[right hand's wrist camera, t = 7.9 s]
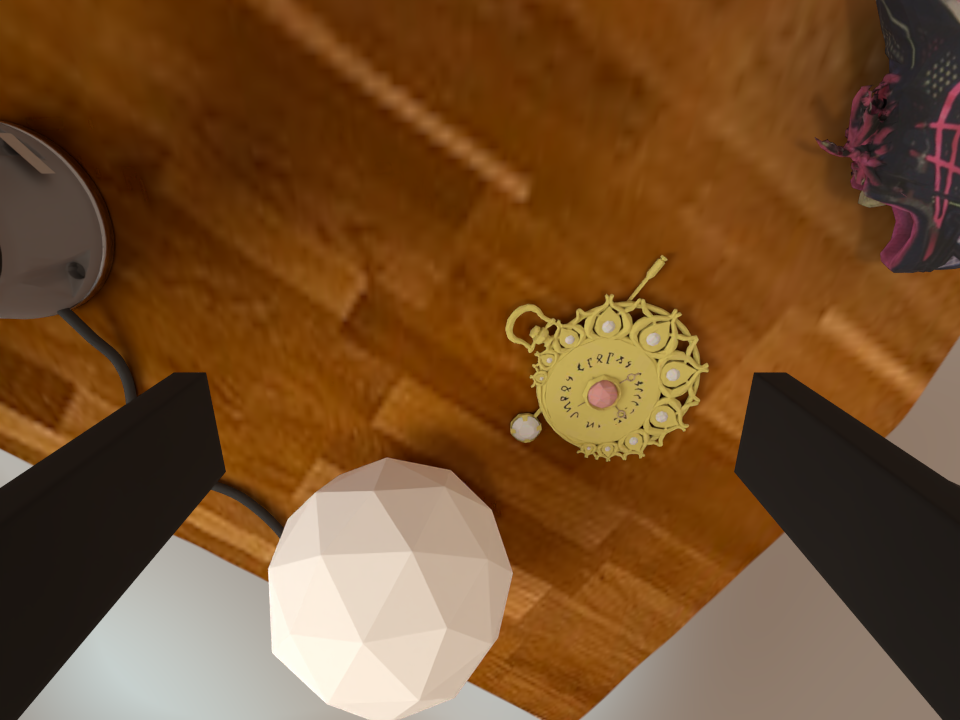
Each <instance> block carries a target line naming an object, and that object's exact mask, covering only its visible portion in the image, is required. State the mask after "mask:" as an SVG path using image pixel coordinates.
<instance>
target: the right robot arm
mask: <svg viewBox="0 0 960 720" xmlns="http://www.w3.org/2000/svg"><path fill="white" fill-rule="evenodd" d="M114 248H115V245H114V232H113V227H112V222H111V218H110V215H109V212H108V209H107V207H106V204H105V202H104V200H103V198H102V196H101V194H100V192H99V190H98V189H97V187H96V185H95V184H94V182H93V181H92V179H91V178H90V177H89V175H88V174H87V173H86V171H85V170H84V169H83V168H82V167H81V166H80V164H79V163H78V162H77V161H76V160H75V159H74V158H73V157H72V156H71V155H69V154H68V153H67V152H66V151H65V150H64V149H62V148H61V147H60V146H58V145H57V144H56V143H54V142H53V141H51V140H50V139H48V138H46V137H45V136H43V135H41V134H39V133H37V132H35V131H33V130H31V129H29V128H26V127H24V126H21V125H18V124H14V123H10V122H6V121H0V318H12V319H33V318H41V317H48V316H53V315H56V314H59V315H60V316H61V317H62V318H63V319H64V320H65V321H66V322H67V323H68V324H70V325H71V326H72V327H73V328H74V329H75V330H76V331H77V332H78V333H79V334H80V335H81V336H82V337H83V338H84V339H85V340H86V341H88V342H89V343H90V344H91V345H92V346H94V347H95V348H96V349H97V350H99V351H100V352H101V353H102V354H104V355H105V356H106V357H107V358H108V359H109V360H110V361H111V362H112V364H113V365H114V367H115V368H116V370H117V372H118V374H119V376H120V378H121V381H122V384H123V387H124V392H125V398H126V405H124V406H123V407H121V408H120V409H118V410H117V411H115V412H114V413H112V414H111V415H109V416H108V417H106V418H105V419H103V420H102V421H100V422H99V423H97V424H96V425H94V426H93V427H91V428H90V429H88V430H87V431H85V432H84V433H82V434H81V435H79V436H78V437H76V438H75V439H73V440H72V441H70V442H69V443H67V444H66V445H64V446H63V447H61V448H60V449H58V450H57V451H55V452H54V453H52V454H51V455H49V456H48V457H46V458H45V459H43V460H42V461H40V462H39V463H37V464H36V465H34V466H33V467H31V468H30V469H28V470H27V471H25V472H24V473H22V474H21V475H19V476H18V477H16V478H15V479H13V480H12V481H10V482H9V483H7V484H5V485H4V486H3V487H1V488H0V720H18V718H19V717H20V716H21V715H22V714H23V712H24V711H25V710H26V709H27V708H28V707H29V705H30V704H31V703H32V702H33V701H34V699H35V698H36V697H37V696H38V695H39V693H40V692H41V691H42V690H43V689H44V687H45V686H46V685H47V684H48V683H49V681H50V680H51V679H52V678H53V677H54V676H55V674H56V673H57V672H58V671H59V670H60V668H61V667H62V666H63V665H64V664H65V663H66V661H67V660H68V659H69V658H70V657H71V655H72V654H73V653H74V652H75V651H76V649H77V648H78V647H79V646H80V645H81V643H82V642H83V641H84V640H85V639H86V638H87V636H88V635H89V634H90V633H91V632H92V630H93V629H94V628H95V627H96V626H97V624H98V623H99V622H100V621H101V620H102V618H103V617H104V616H105V615H106V614H107V613H108V611H109V610H110V609H111V608H112V607H113V605H114V604H115V603H116V602H117V601H118V599H119V598H120V597H121V596H122V595H123V593H124V592H125V591H126V590H127V589H128V588H129V586H130V585H131V584H132V583H133V581H134V580H135V579H136V578H137V577H138V576H139V574H140V573H141V572H142V571H143V570H144V568H145V567H146V566H147V565H148V564H149V563H150V561H151V560H152V559H153V558H154V557H155V555H156V554H157V553H158V552H159V551H160V549H161V548H162V547H163V546H164V545H165V544H166V542H167V541H168V540H169V539H170V538H171V536H172V535H173V534H174V533H175V532H176V530H177V529H178V528H179V527H180V526H181V524H182V523H183V522H184V521H185V520H186V519H187V517H188V516H189V515H190V514H191V513H192V511H193V510H194V509H195V508H196V507H197V505H198V504H199V503H200V502H201V501H202V499H203V498H204V497H205V496H206V495H207V494H208V492H209V491H210V490H214V491H217V492H220V493H222V494H225V495H227V496H229V497H232V498H233V499H235V500H237V501H239V502H240V503H242V504H243V505H245V506H246V507H248V508H249V509H250V510H252V511H253V512H254V513H255V514H256V515H258V516H259V517H260V518H261V519H262V520H263V521H264V522H265V523H266V524H267V525H268V526H269V527H270V528H271V529H272V530H273V531H274V532H275V533H276V534H277V535H278V537H279V538H281V535H282V533H283V530H284V528H283V527H282V525H281V524H280V523H279V522H278V521H277V520H276V519H275V518H274V517H273V516H272V515H271V514H270V513H269V512H268V511H267V510H266V509H264V508H263V507H262V506H261V505H260V504H258V503H257V502H256V501H255V500H253V499H252V498H251V497H249V496H248V495H246V494H245V493H243V492H241V491H239V490H237V489H235V488H233V487H231V486H228V485H226V484H223V483H220V482H218V480H219V479H220V478H221V477H222V476H223V474H224V473H225V472H226V470H225V465H224V460H223V455H222V450H221V445H220V440H219V435H218V430H217V425H216V420H215V415H214V410H213V405H212V400H211V395H210V390H209V385H208V380H207V375H206V373H173V374H171V375H170V376H168V377H167V378H165V379H164V380H162V381H161V382H159V383H158V384H156V385H154V386H153V387H151V388H150V389H148V390H147V391H145V392H144V393H142V394H141V395H139V396H138V397H137V394H136V388H135V384H134V381H133V377H132V375H131V372H130V370H129V368H128V366H127V364H126V363H125V361H124V359H123V358H122V357H121V355H120V354H119V353H118V352H117V351H116V350H115V349H114V348H113V347H111V346H110V345H109V344H108V343H106V342H105V341H104V340H103V339H101V338H100V337H99V336H98V335H97V334H96V333H95V332H94V331H93V330H92V329H91V328H89V327H88V326H87V325H86V324H85V323H84V322H83V321H82V320H81V319H80V318H79V317H78V316H77V315H76V314H75V313H74V312H73V311H72V310H71V309H74V308H76V307H79V306H81V305H82V304H84V303H86V302H87V301H89V300H90V299H91V298H93V297H94V296H95V295H96V294H97V293H98V292H99V290H100V289H101V288H102V286H103V285H104V283H105V282H106V280H107V278H108V276H109V273H110V271H111V267H112V264H113V258H114ZM734 472H735V473H736V474H737V476H738V477H739V478H740V479H741V480H742V482H743V483H744V484H745V485H746V486H747V488H748V489H749V490H750V491H751V492H752V494H753V495H754V496H755V497H756V498H757V499H758V501H759V502H760V503H761V504H762V505H763V507H764V508H765V509H766V510H767V511H768V513H769V514H770V515H771V516H772V517H773V519H774V520H775V521H776V522H777V523H778V524H779V526H780V527H781V528H782V529H783V530H784V532H785V533H786V534H787V535H788V536H789V538H790V539H791V540H792V541H793V542H794V543H795V545H796V546H797V547H798V548H799V549H800V551H801V552H802V553H803V554H804V555H805V557H806V558H807V559H808V560H809V561H810V563H811V564H812V565H813V566H814V567H815V568H816V570H817V571H818V572H819V573H820V574H821V576H822V577H823V578H824V579H825V580H826V582H827V583H828V584H829V585H830V586H831V588H832V589H833V590H834V591H835V592H836V593H837V595H838V596H839V597H840V598H841V599H842V601H843V602H844V603H845V604H846V605H847V607H848V608H849V609H850V610H851V611H852V613H853V614H854V615H855V616H856V617H857V618H858V620H859V621H860V622H861V623H862V624H863V626H864V627H865V628H866V629H867V630H868V631H869V633H870V634H871V635H872V636H873V637H874V639H875V640H876V641H877V642H878V643H879V645H880V646H881V647H882V648H883V649H884V651H885V652H886V653H887V654H888V655H889V656H890V658H891V659H892V660H893V661H894V663H895V664H896V665H897V666H898V667H899V668H900V670H901V671H902V672H903V673H904V674H905V676H906V677H907V678H908V679H909V680H910V682H911V683H912V684H913V685H914V686H915V688H916V689H917V690H918V691H919V692H920V693H921V695H922V696H923V697H924V698H925V699H926V701H927V702H928V703H929V704H930V705H931V707H932V708H933V709H934V710H935V711H936V712H937V714H938V715H939V716H940V717H941V718H942V720H960V486H959V485H957V484H955V483H953V482H951V481H948V480H947V479H945V478H944V477H942V476H941V475H939V474H938V473H936V472H935V471H933V470H932V469H930V468H929V467H927V466H926V465H924V464H923V463H921V462H920V461H918V460H917V459H915V458H914V457H912V456H911V455H909V454H908V453H906V452H905V451H903V450H902V449H900V448H899V447H897V446H896V445H894V444H893V443H891V442H890V441H888V440H887V439H885V438H884V437H882V436H881V435H879V434H878V433H876V432H875V431H873V430H872V429H870V428H869V427H867V426H866V425H864V424H863V423H861V422H860V421H858V420H857V419H855V418H854V417H852V416H851V415H849V414H848V413H846V412H845V411H843V410H842V409H840V408H839V407H837V406H836V405H834V404H833V403H831V402H830V401H828V400H827V399H825V398H824V397H822V396H821V395H819V394H818V393H816V392H815V391H813V390H812V389H810V388H809V387H807V386H806V385H804V384H802V383H801V382H799V381H798V380H796V379H795V378H793V377H792V376H790V375H789V374H787V373H754V375H753V380H752V385H751V390H750V395H749V400H748V405H747V410H746V415H745V420H744V425H743V430H742V435H741V440H740V445H739V450H738V455H737V460H736V465H735V470H734Z"/></svg>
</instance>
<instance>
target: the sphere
mask: <svg viewBox="0 0 960 720" xmlns="http://www.w3.org/2000/svg"><path fill="white" fill-rule="evenodd" d="M268 573H269V595H270V617H271V641H272V653H273V654H274V655H275V656H276V657H277V658H278V659H279V660H280V661H281V662H282V663H283V664H284V665H286V666H287V667H288V668H289V669H290V670H291V671H292V672H293V673H294V674H295V675H296V676H297V677H298V678H299V679H301V680H302V681H303V682H304V683H305V684H306V685H307V686H308V687H309V688H310V689H311V690H312V691H313V692H314V693H315V694H317V695H318V696H319V697H320V698H321V699H322V700H323V701H324V702H325V703H326V704H328V705H331V706H334V707H336V708H339V709H342V710H344V711H347V712H350V713H352V714H355V715H358V716H360V717H363V718H366V719H368V720H399V719H402V718H405V717H407V716H410V715H412V714H415V713H417V712H420V711H422V710H425V709H428V708H430V707H433V706H435V705H438V704H440V703H443V702H445V701H448V700H450V699H453V698H455V697H456V695H457V694H458V693H459V691H460V690H461V688H462V687H463V686H464V684H465V683H466V681H467V680H468V679H469V677H470V676H471V674H472V673H473V672H474V670H475V669H476V667H477V666H478V665H479V663H480V662H481V660H482V659H483V658H484V656H485V655H486V653H487V652H488V651H489V649H490V648H491V647H492V645H493V644H494V642H495V641H496V640H497V638H498V635H499V631H500V626H501V622H502V618H503V613H504V609H505V605H506V601H507V596H508V592H509V588H510V583H511V579H512V575H513V572H512V569H511V566H510V563H509V560H508V557H507V554H506V551H505V548H504V545H503V542H502V539H501V536H500V533H499V530H498V527H497V524H496V521H495V518H494V515H493V512H492V510H491V509H490V508H489V507H488V506H487V505H486V504H485V503H484V502H483V501H482V500H481V499H480V498H479V497H478V496H477V495H476V494H475V493H474V492H473V491H472V490H471V489H470V488H469V487H467V486H466V485H465V484H464V483H463V482H462V481H461V480H460V479H459V478H458V477H457V476H456V475H455V474H454V473H453V472H452V471H451V470H448V469H442V468H437V467H432V466H427V465H422V464H417V463H412V462H407V461H402V460H397V459H392V458H384V459H381V460H379V461H376V462H373V463H371V464H368V465H365V466H362V467H360V468H357V469H354V470H352V471H349V472H346V473H343V474H341V475H339V476H337V477H336V478H334V479H333V480H332V481H330V482H329V483H328V484H326V485H325V486H324V487H322V488H321V489H319V490H318V491H317V492H315V493H314V494H313V495H312V496H311V497H310V498H309V499H308V500H307V501H306V502H305V503H304V504H303V505H302V506H301V507H300V508H299V509H298V510H297V511H296V512H295V513H294V514H293V515H292V516H291V517H290V518H288V520H287V523H286V525H285V528H284V530H283V533H282V535H281V538H280V540H279V543H278V545H277V548H276V550H275V553H274V555H273V558H272V561H271V563H270V566H269V568H268Z"/></svg>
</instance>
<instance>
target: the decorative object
mask: <svg viewBox="0 0 960 720" xmlns="http://www.w3.org/2000/svg"><path fill="white" fill-rule="evenodd" d="M664 261H667V258H666V257H664V256H663V255H661V259H658V260H657V261H656V262H655V263H654V265H653V266H652V267H651V268H650V269H649V271H648V272H647V275H646V278H645V279H644V280H643V281H642V283H641V284H640V285H639V286H638V288H637V289H636V290H635V291H634V292H633V294H632V295H631V296H630V297H629V299H628V300H627V301H625V302H615V303H614V302H613V300H612V299H613V297H614V295H613V294H611V295H610V297H609V295H607V294H606V295H605V298H606V302H605V304H604V305H602V306H598V307H595V308H593V309H591V310H588V311H586V312H584V311H583V310H582V309H578V310H577V311H576V318H574V319H573V320H572V321H570V322H569V323H567V324H561V322H560V320H558V322H555V321H556V320H555V319H554V318H551V319H550V318H548V317H546V316H544V315H543V313H542V311H541V309H540V308H538V307H537V306H536V305H533V304H527V305H523V306H520V307H518V308H517V309H516V310H515V311H513V313H512V314H511V316H510V317H509V318H508V320H507V324H506V334H507V337H508V338H509V340H511V341H512V342H514V343H518V344H523V345H524V346H525V347H526V348H528V352H529V353H531V352H532V351H533V350H534V347H535V344H536V343H537V344H541V343H545V347H546V350H544V351H543V352H541V353H539V352H538V351H536V353H535V356H538V363H537V364H532V365H533V367H534V368H535V369H536V371H537V372H536V373H535V374H534V375H531V376H530V378H533V380H534V383H533V385H531V387H534V386H535V384H536V394H537V398H538V402H539V407H540V408H539V409H538V410H537V412H536V413H535V414H534V415H533V414H530V413H524V414H518V415H517V416H516V417H515V418H514V419H513V420H512V421H511V425H510V430H511V434H512V436H513V437H514V438H515V439H517V440H519V441H521V442H524V443H525V442H531V441H532V440H534V439H535V438H536V437H537V436H538V435H539V433H540V432H541V430H542V428H541V424H540V422H539V420H538V419H537V416H538V415H539V414H540V412H541V411H542V413H543V415H544V417H545V419H546V421H547V422H548V423H549V425H550V426H551V427H552V428H553V429H554V431H555V432H556V433H557V434H559V435H560V436H561V437H562V438H563V439H565V440H566V441H568V442H569V443H571V444H573V445H575V446H577V447H580V449H581V450H579V451H577V454H578V453H580V452H583V453H584V454H585V456H584V457H587V458H588V455H591V454H593V455H594V456H595V459H596V460H598V458H599V457H600V456H602V457H604V458H606V461H607V462H608V461H610V458H611V457H612V456H614V455H617V456H621V458H622V459H623V460H626V456H627V455H628V454H638V455H639V458H642V456H645V454H643V450H644V449H645V447H646V446H647V445H651V444H655V445H657V446H663V442H662V441H663V438H664V436H665V435H666V434H667V433H669V432H671V431H673V430H675V429H677V428H678V429H682V430H683V432H684V431H686V429H685V428H687V427H688V426H689V425H688V424H684V423H683V422H682V417H683V416H684V414H685V413H686V412H687V410H688V409H689V407H690V406H695V405H698V403H699V401H700V399H699V398H697V397H696V396H695V395H696V392H697V389H698V386H699V380H700V373H701V372H708V371H709V369H708V368H707V367H708V364H707V363H705V364H704V365H700V354H699V351H698V349H697V346H696V343H697V342H698V341H699V339H698V338H697V336H691V334H690V333H689V331H688V329H687V328H686V327H685V326H684V325H683V324H682V323H681V322H680V321H679V320H678V319H677V317H679V316H681V315H682V314H681V312H678V313H677V309H674V310H673V312H672V314H670V313H669V312H667V311H665V310H664V309H662V308H660V307H657V306H654V305H651V304H648V303H645V299H641V298H639V299H638V300H637V301H636V302H634V301H632V300H633V298H634V297H635V296H636V295H637V293H638V292H639V291H640V290H641V289H642V287H643V286H644V285H645V284H646V282H647V281H648V280H649V279H651V278H653V277H654V276H655V275H656V274H657V273H658V271H659V270H660V269H661V268H662V267H663V266H664V264H665V263H664ZM635 308H642V311H643V313H644V314H645V315H646V316H647V317H643V318H641V319H639V320H637V321H636V322H635V323H634V324H633V323H632V317H631V315H630V314H629V313H627V312H630V311H633V310H634V309H635ZM612 309H615V310H617V311H618V312H617V313H615V312H614V311H613V310H612ZM649 310H650V311H653V312H655V313H658V314H660V315H662V316H659V315H654V316H653V314H652V313H651V312H650V311H649ZM526 311H533V312H536V313H537V315H538V316H539V317H540V318H541V319H543V320H544V321H546V322H548V323H547V325H546V326H545V328H544V327H542V328H540V326H535V327H534V328H533V329H532V330H531V331H530V335H529V336H531V337H532V338H533V343H532V344H531V345H530V344H528V343H527V342H525V341H524V340H522V339H520V338H517V337H516V336H515V335H514V334H513V324H514V322H515V320H516V319H517V318H518V317H519V316H520V315H521V314H522V313H524V312H526ZM602 311H603V312H602ZM600 312H602V313H601V314H599V313H600ZM579 313H580V315H579ZM620 315H621V316H622V322H623V329H621V330H620V328H621V319H620ZM596 316H598V317H597V319H596ZM585 318H587V319H586V320H585V325H584V328H583V327H582V326H581V325H578V324H577V323H579V322H580V321H582V320H583V319H585ZM595 319H596V322H595ZM669 320H670V321H669ZM656 321H662V322H658V323H656ZM652 322H653V323H652ZM594 323H595V325H594ZM650 323H652V324H650ZM553 324H554V325H556V326H557V330H556V332H555V334H554V336H553V335H552V336H549V331H548V329H547V328H548V327H550V326H552V325H553ZM576 324H577V325H576ZM648 324H650V325H648ZM670 324H671V329H672V333H669V330H670ZM647 325H648V326H647ZM593 326H594V329H595V331H596V333H597V334H595V333H594V331H593V330H592V329H593ZM676 326H677V327H678V328H679V329H680V330H681V331H682V333H683V334H684V335H682V334H678V330H677V327H676ZM572 328H573V329H574V330H575V331H574V330H572ZM619 330H620V331H619ZM576 331H577V332H578V333H579V334H580V339H579V337H578V334H577V332H576ZM639 331H640V333H639ZM638 333H639V334H638ZM628 334H629V337H628V336H626V335H628ZM637 335H638V337H637ZM669 336H671V338H670V340H669V342H668V343H667V340H668V338H669ZM677 339H679V340H683V341H686V340H688V342H689V344H690V345H689V346H688V348H687V351H686V355H685V353H684V352H682V351H678V350H675V349H676V348H677V345H678V340H677ZM559 342H560V344H561V345H562V346H564V347H565V348H562V347H561V346H560V344H559ZM666 343H667V345H666ZM665 345H666V346H665ZM664 346H665V348H664V349H663V350H661V351H659V352H655V351H658V350H660V349H662V348H663V347H664ZM553 348H554V350H553ZM691 352H692V353H693V358H692V357H690V355H691ZM558 353H559V354H558ZM553 354H554V355H555V356H554V355H553ZM655 358H656V359H659V360H658V362H657V361H656V359H655ZM693 359H694V360H693ZM669 360H671V361H669ZM677 360H684V362H683V361H677ZM667 361H668V362H667ZM687 362H689V363H690V364H691V365H692V366H693V367H694V368H693V367H691V366H689V365H687V364H686V363H687ZM545 365H546V366H545ZM538 366H539V369H538V368H537V367H538ZM693 373H694V374H693ZM692 374H693V375H692ZM691 375H692V377H691V378H690V380H689V381H688V379H689V377H690V376H691ZM684 382H686V383H685V384H683V385H681V384H682V383H684ZM663 384H664V385H666V386H668V387H676V388H673V389H669V388H667V387H665V386H664V385H663ZM679 385H681V386H679ZM677 386H678V387H677ZM687 390H688V393H689V396H688V398H687V400H686V402H685V403H684V405H683V406H682V407H681V403H680V402H679V401H678V400H677V399H675V397H678V396H680V395H683V394H684V393H685V392H687ZM661 393H662V394H663V395H664V396H665V397H662V398H661V399H659V398H660V394H661ZM693 400H695V402H692V401H693ZM696 401H697V402H696ZM667 404H669V405H670V406H672V407H673V408H674V409H675V410H676V412H675V411H674V410H673V409H672V408H670V407H669V406H668V405H667ZM649 421H650V422H651V423H652V424H653V425H654V426H656V427H660V428H663V429H659V428H654V427H651V425H650V423H649ZM678 423H679V424H680V425H679V424H678ZM642 425H643V428H644V429H640V427H641V426H642ZM640 434H641V435H642V436H643V440H642V436H641V435H640ZM649 435H652V436H649ZM658 438H659V443H658V442H656V441H655V440H656V439H658ZM617 440H618V443H616V442H614V441H617ZM623 443H625V445H624V444H623ZM597 444H599V445H597ZM596 445H597V446H596ZM613 446H614V447H613ZM641 447H642V448H641ZM640 448H641V450H640ZM632 450H635V451H632ZM594 452H597V453H598V455H597V457H596V453H594ZM602 452H603V453H602ZM618 452H623V453H624V454H623V455H622V454H621V453H618ZM611 453H612V454H611ZM604 454H605V455H604Z"/></svg>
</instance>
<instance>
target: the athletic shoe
mask: <svg viewBox="0 0 960 720" xmlns="http://www.w3.org/2000/svg"><path fill="white" fill-rule="evenodd" d="M876 4H877V8H878V13H879V18H880V23H881V29H882V33H883V36H884V39H885V46H886V47H885V54H886V55H887V57H888V58H889V71H890V73H888V74H886V75H885V76H884V78H883V80H882V82H881V83H880V84H879V86H878V87H876V88H875V89H874V90H873V92H876V93H875V94H874V96H873V98H872V91H868V90H869V88H870V87H871V86H872V85H869V86H863V87H861V89H860V90H859V92H858V93H857V94H856V96H855V97H854V99H853V103H852V109H851V115H850V124H849V128H847V129H846V131H845V137H846V138H848V140H847V143H846V144H845V146H844V147H842V146H836V144H834V143H833V142H829V141H828V139H827V140H825V141H820V140H819V139H817V138H815V139H816V141H817V142H818V144H819V146H820V147H821V148H822V149H824V150H825V151H827V152H828V153H829V154H832V155H835V156H839V157H850V158H851V159H852V160H853V161H854V162H852V163H851V169H852V170H853V171H852V172H851V176H852V175H853V174H854V175H853V177H852V179H851V181H850V182H851V185H852V188H855V189H858V190H861V193H860V197H859V201H858V203H859V204H861V205H863V206H866V207H876V206H884V205H889V206H892V209H893V213H894V216H895V220H896V223H895V227H894V230H893V234H892V238H891V240H890V241H889V243H888V244H887V245H886V247H885V248H884V249H883V250H882V252H881V253H880V256H881V261H882V263H883V264H884V265H885V266H886V267H887V268H888V269H890V270H891V271H892V272H894V273H914V272H925V271H926V272H931V271H933V270H944V269H956V268H960V0H876ZM878 98H879V99H878Z"/></svg>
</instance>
